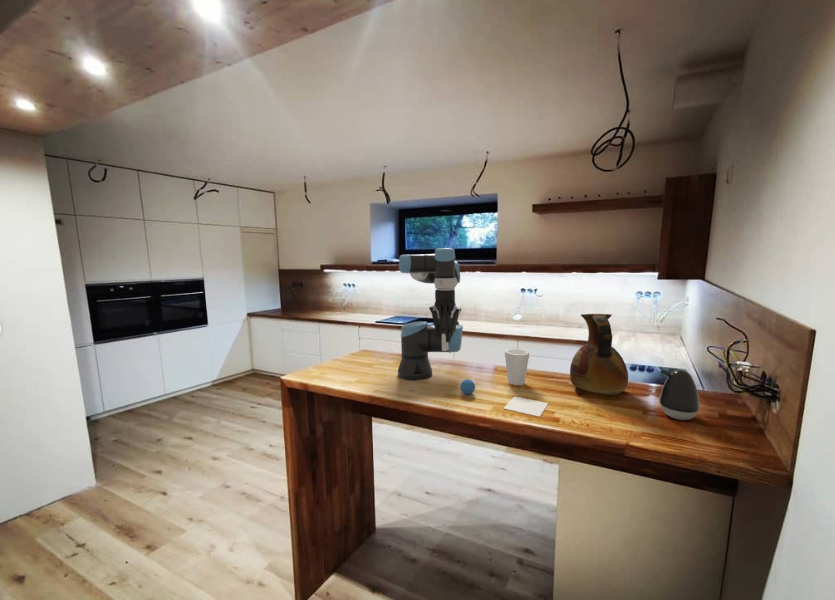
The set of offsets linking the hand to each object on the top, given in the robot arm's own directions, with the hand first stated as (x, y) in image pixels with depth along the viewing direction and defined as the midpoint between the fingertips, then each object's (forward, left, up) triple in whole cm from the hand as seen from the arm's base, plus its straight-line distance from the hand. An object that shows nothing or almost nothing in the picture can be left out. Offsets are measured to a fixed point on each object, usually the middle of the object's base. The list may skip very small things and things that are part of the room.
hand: (445, 350), depth 136 cm
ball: (+9, 0, -13) cm, 16 cm away
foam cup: (+21, +21, -16) cm, 34 cm away
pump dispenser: (+74, +17, -16) cm, 78 cm away
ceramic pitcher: (+50, +28, -16) cm, 60 cm away
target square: (+31, 0, -16) cm, 35 cm away
